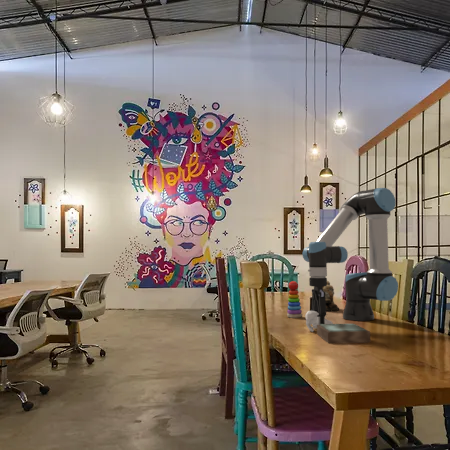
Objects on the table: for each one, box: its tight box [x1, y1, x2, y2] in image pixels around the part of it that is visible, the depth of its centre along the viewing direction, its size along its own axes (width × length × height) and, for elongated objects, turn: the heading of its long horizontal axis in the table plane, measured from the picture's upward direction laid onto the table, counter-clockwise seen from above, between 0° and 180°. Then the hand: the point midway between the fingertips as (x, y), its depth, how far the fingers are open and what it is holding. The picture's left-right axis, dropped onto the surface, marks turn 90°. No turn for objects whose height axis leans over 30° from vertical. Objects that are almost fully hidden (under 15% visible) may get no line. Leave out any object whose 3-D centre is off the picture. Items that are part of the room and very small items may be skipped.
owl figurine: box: [323, 280, 340, 313], centre depth 242 cm, size 18×12×17 cm, turn 164°
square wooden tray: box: [316, 323, 371, 344], centre depth 163 cm, size 16×16×4 cm
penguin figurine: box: [304, 310, 334, 333], centre depth 179 cm, size 6×8×12 cm
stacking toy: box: [286, 280, 303, 319], centre depth 217 cm, size 8×8×19 cm
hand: (319, 330), depth 179 cm, fingers open, 7 cm apart
